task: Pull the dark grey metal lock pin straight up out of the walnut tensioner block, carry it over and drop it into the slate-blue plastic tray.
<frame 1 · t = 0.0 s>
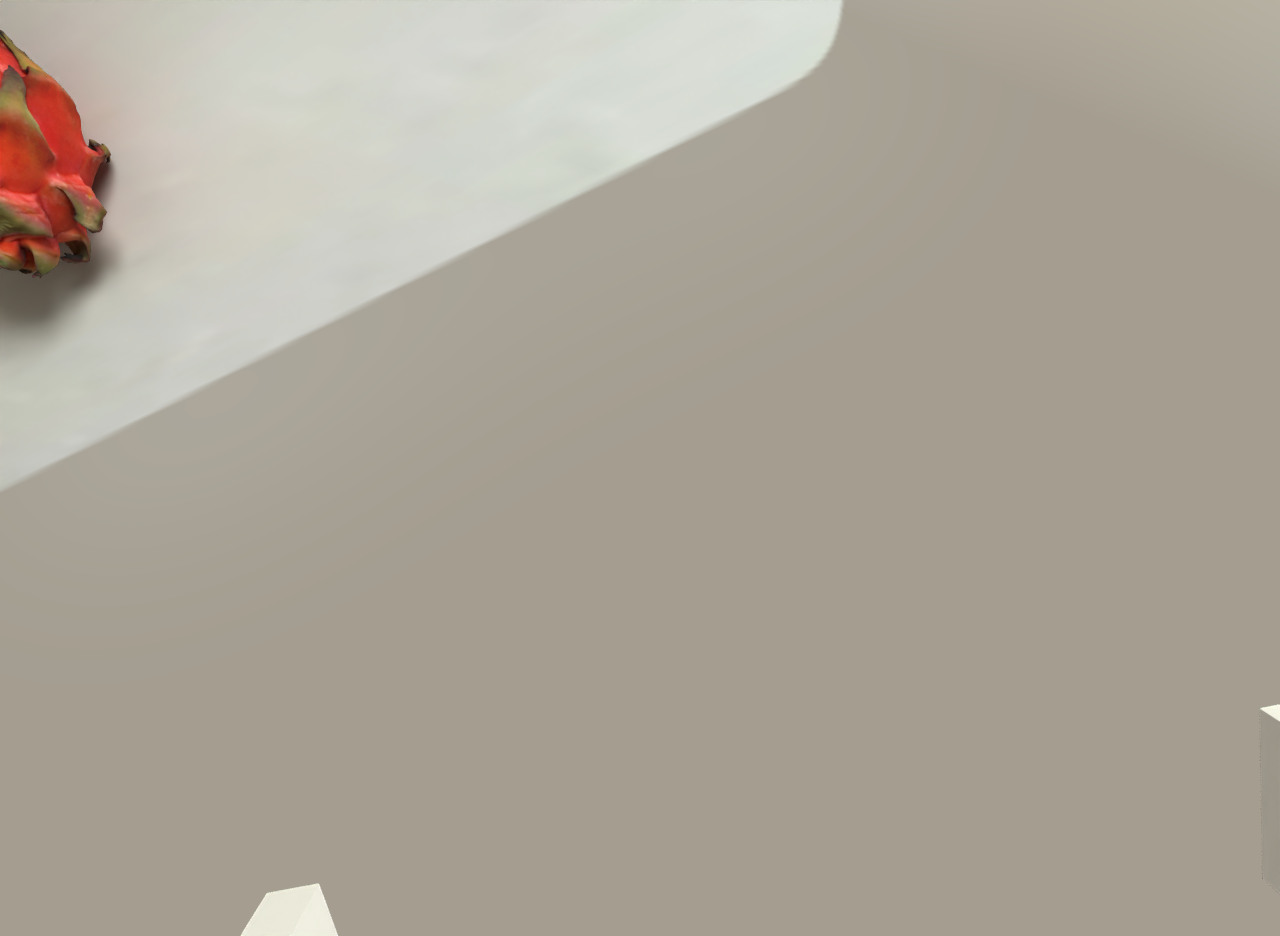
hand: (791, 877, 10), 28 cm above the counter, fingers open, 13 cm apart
dragon fruit: (45, 157, 34), on the counter
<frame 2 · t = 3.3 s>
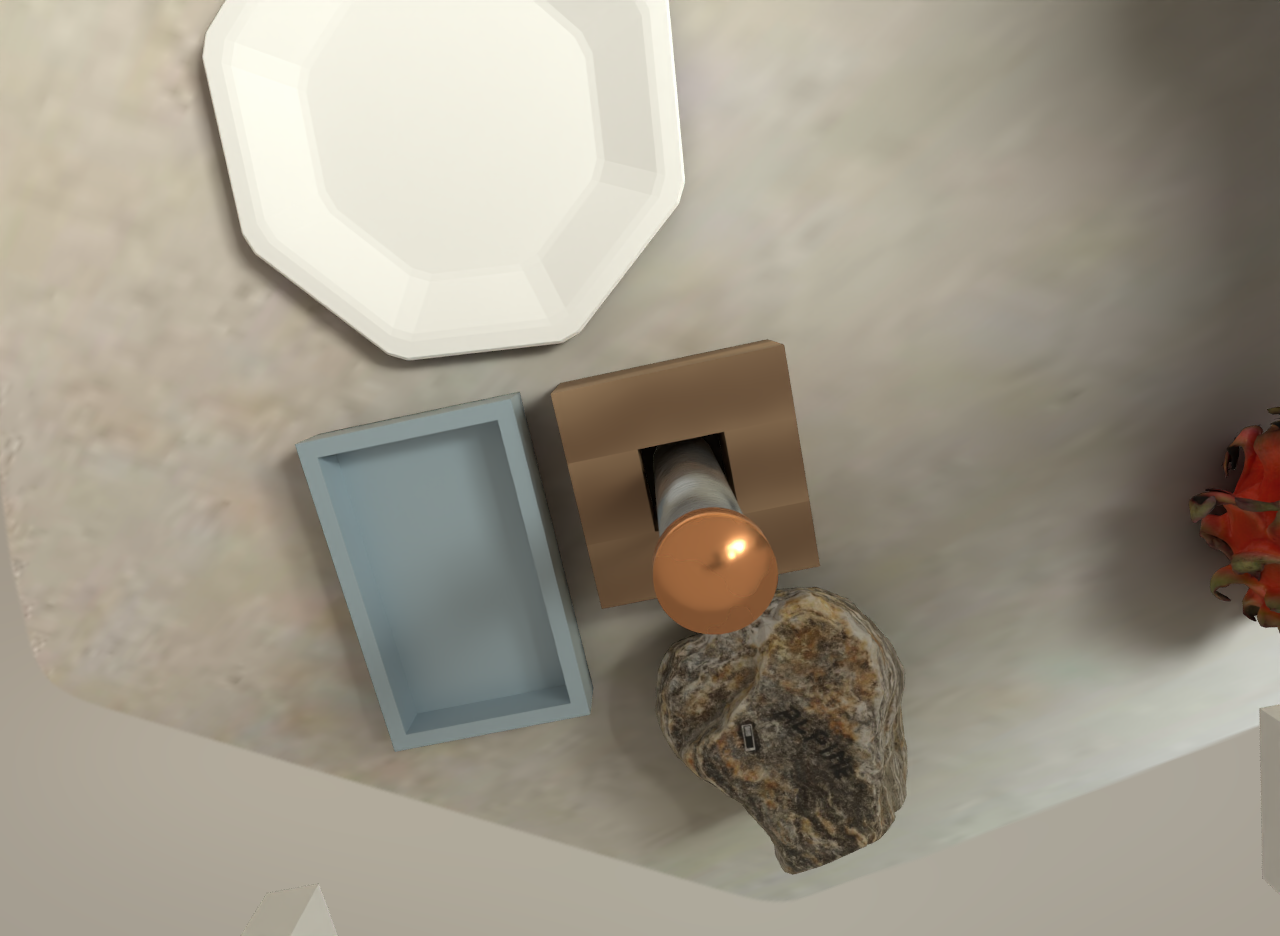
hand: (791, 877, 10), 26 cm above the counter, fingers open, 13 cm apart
plate: (456, 129, 33), on the counter
stone: (774, 677, 39), on the counter
dragon fruit: (1243, 505, 36), on the counter
tray: (461, 566, 37), on the counter
lock pin: (695, 504, 28), in the tensioner block
tensioner block: (683, 462, 35), on the counter
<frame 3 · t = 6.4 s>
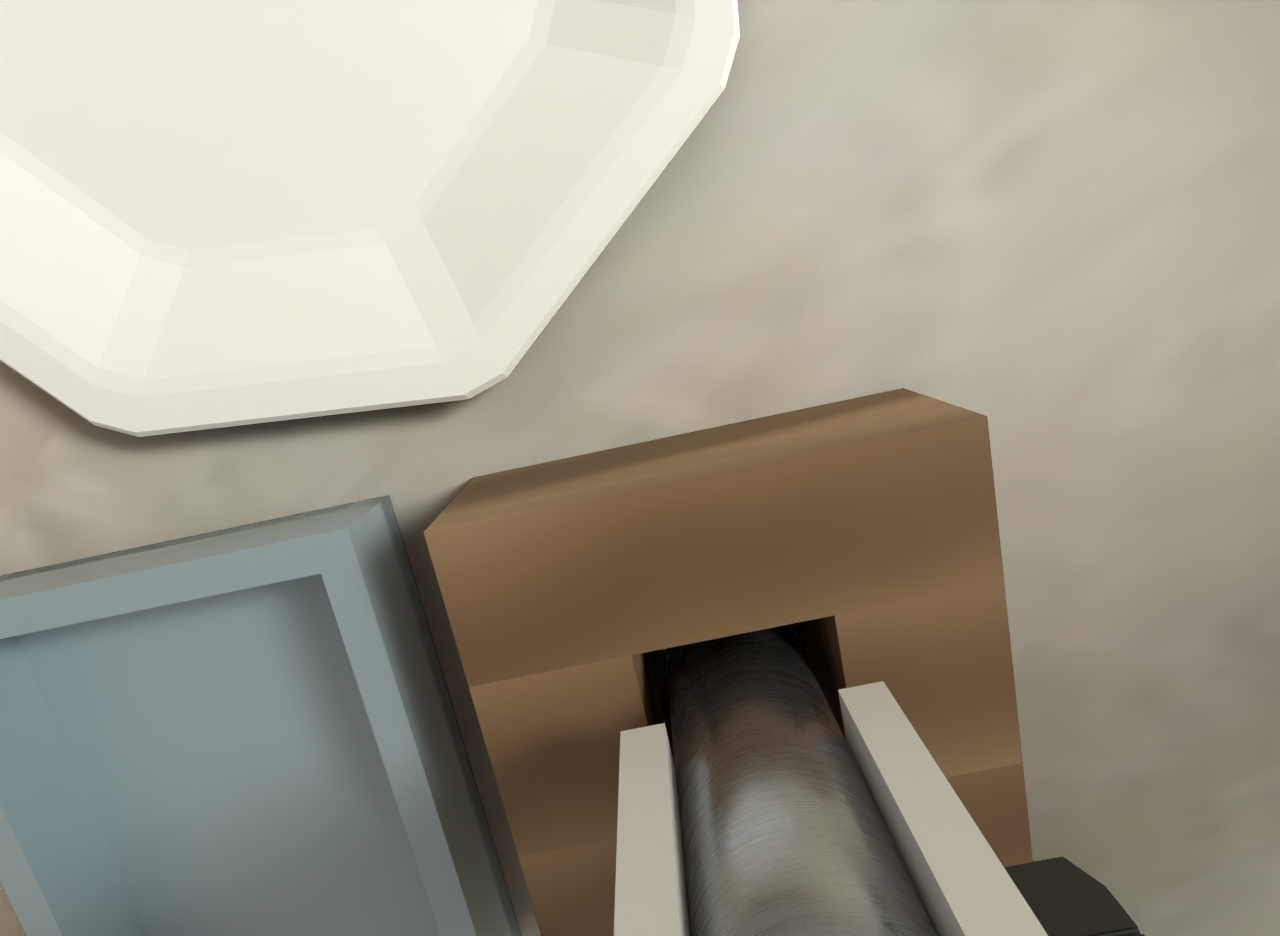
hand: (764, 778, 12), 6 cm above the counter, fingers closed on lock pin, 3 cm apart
tray: (290, 825, 19), on the counter
lock pin: (788, 866, 10), in the tensioner block, touching gripper
tensioner block: (724, 631, 18), on the counter
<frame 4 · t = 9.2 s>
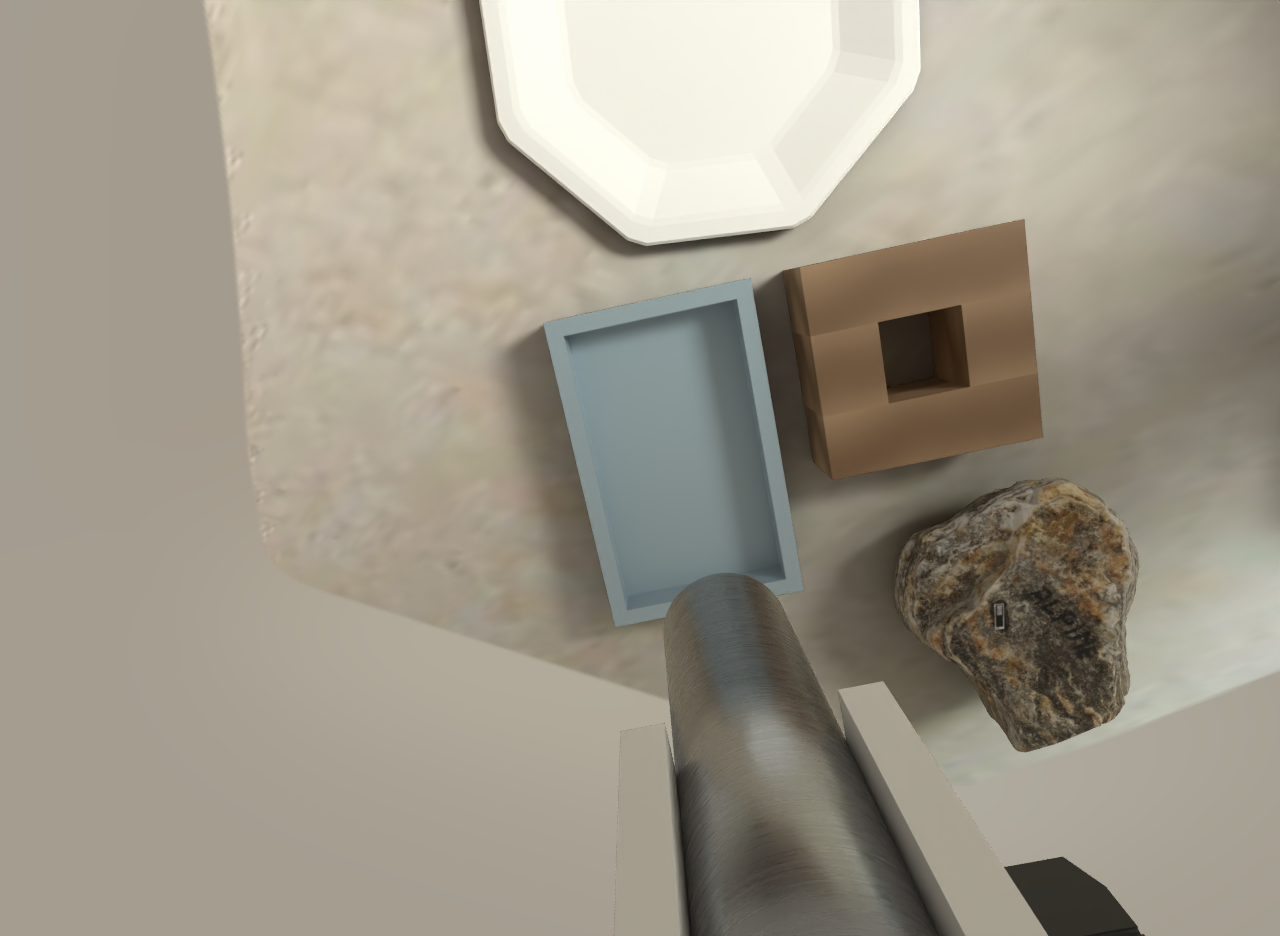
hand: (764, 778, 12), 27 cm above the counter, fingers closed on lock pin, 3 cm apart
plate: (697, 23, 34), on the counter
stone: (986, 578, 40), on the counter
tray: (676, 452, 38), on the counter
lock pin: (788, 864, 10), point 29 cm above the counter, touching gripper
tensioner block: (894, 348, 37), on the counter
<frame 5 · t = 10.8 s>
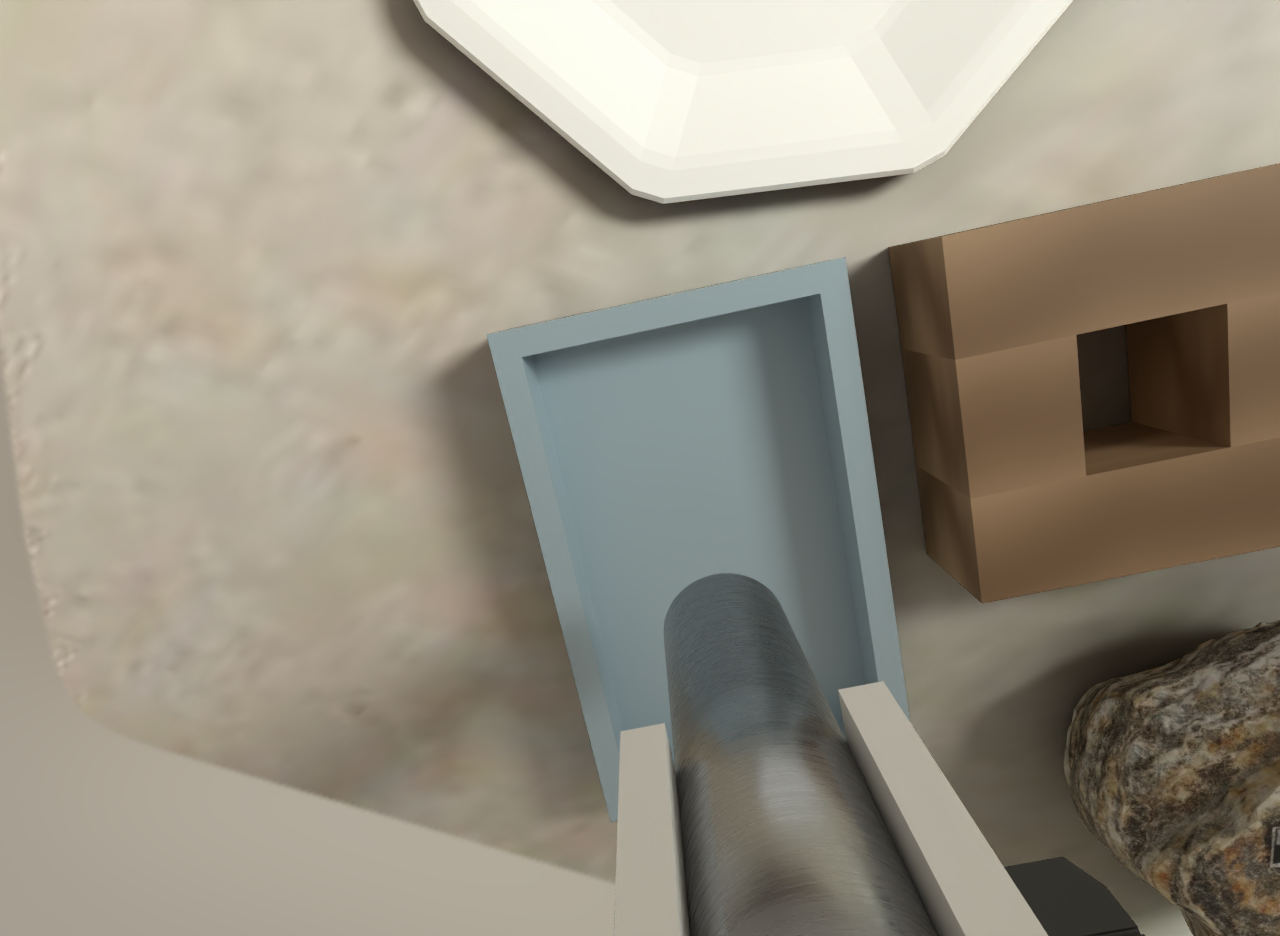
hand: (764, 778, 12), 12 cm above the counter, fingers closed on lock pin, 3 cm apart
stone: (1195, 735, 26), on the counter
tray: (709, 539, 24), on the counter
lock pin: (788, 865, 10), point 14 cm above the counter, touching gripper
tensioner block: (1067, 375, 23), on the counter
when the fingers open (8 cm above the counter, at t = 12.0 s): lock pin drops 1 cm, resting on tray.
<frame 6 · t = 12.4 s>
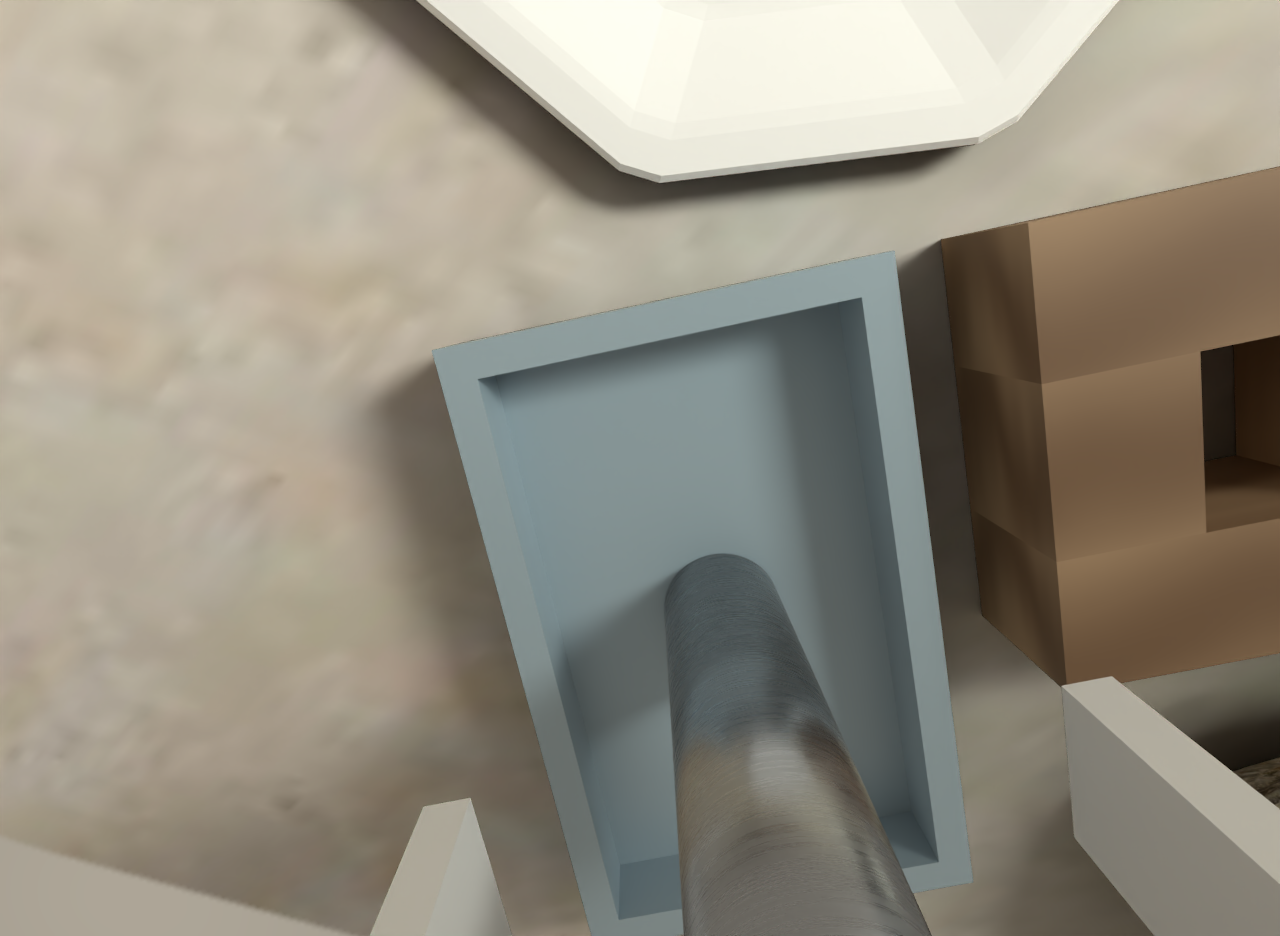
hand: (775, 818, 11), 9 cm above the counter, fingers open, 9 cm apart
tray: (716, 598, 20), on the counter
lock pin: (768, 801, 12), in the tray, point 8 cm above the counter
tensioner block: (1158, 398, 18), on the counter
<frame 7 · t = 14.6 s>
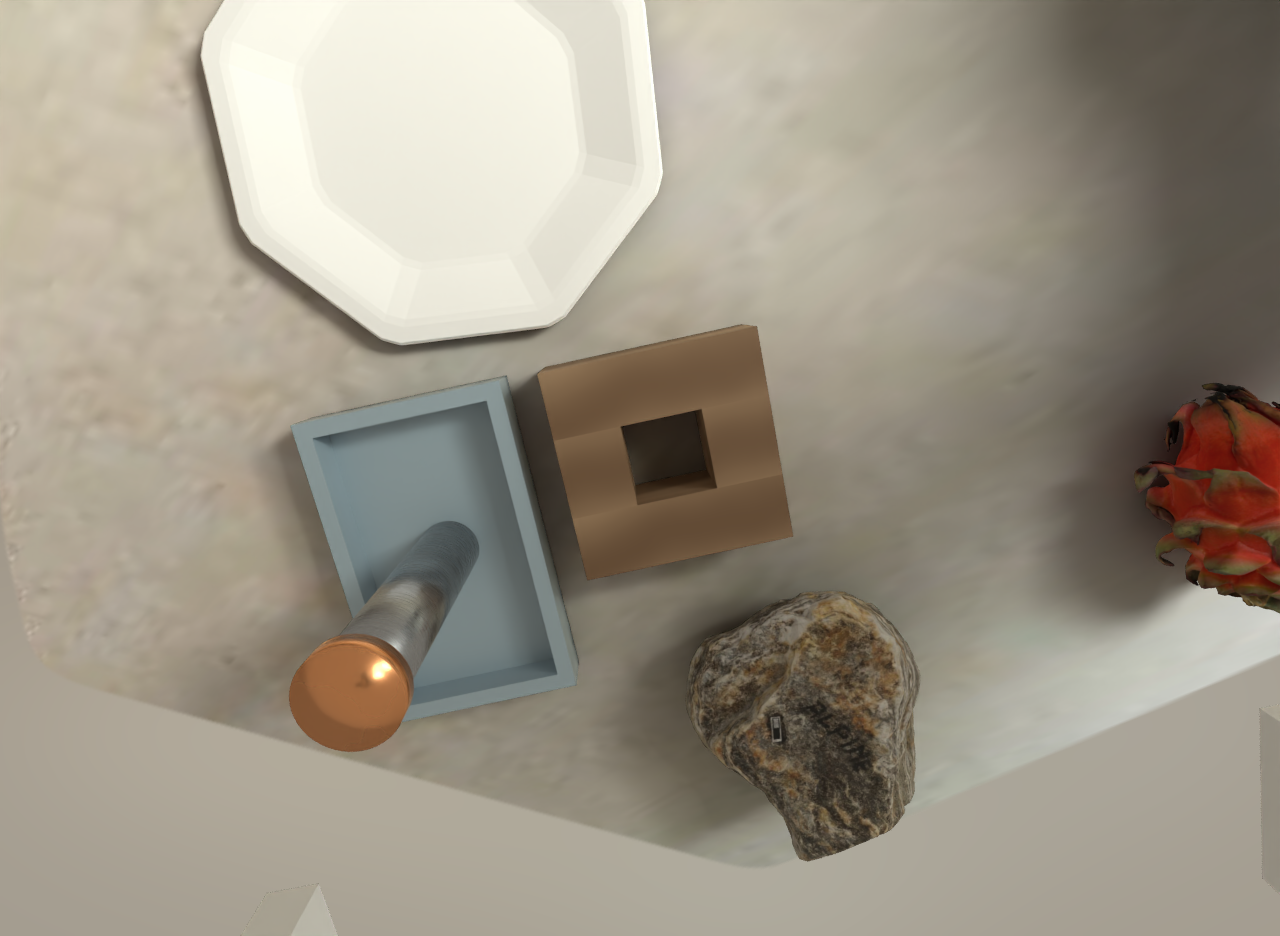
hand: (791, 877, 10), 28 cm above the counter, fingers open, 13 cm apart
plate: (445, 124, 34), on the counter
stone: (792, 677, 41), on the counter
dragon fruit: (1185, 478, 39), on the counter
tray: (451, 545, 38), on the counter
lock pin: (411, 606, 30), in the tray, point 8 cm above the counter
tensioner block: (663, 442, 37), on the counter
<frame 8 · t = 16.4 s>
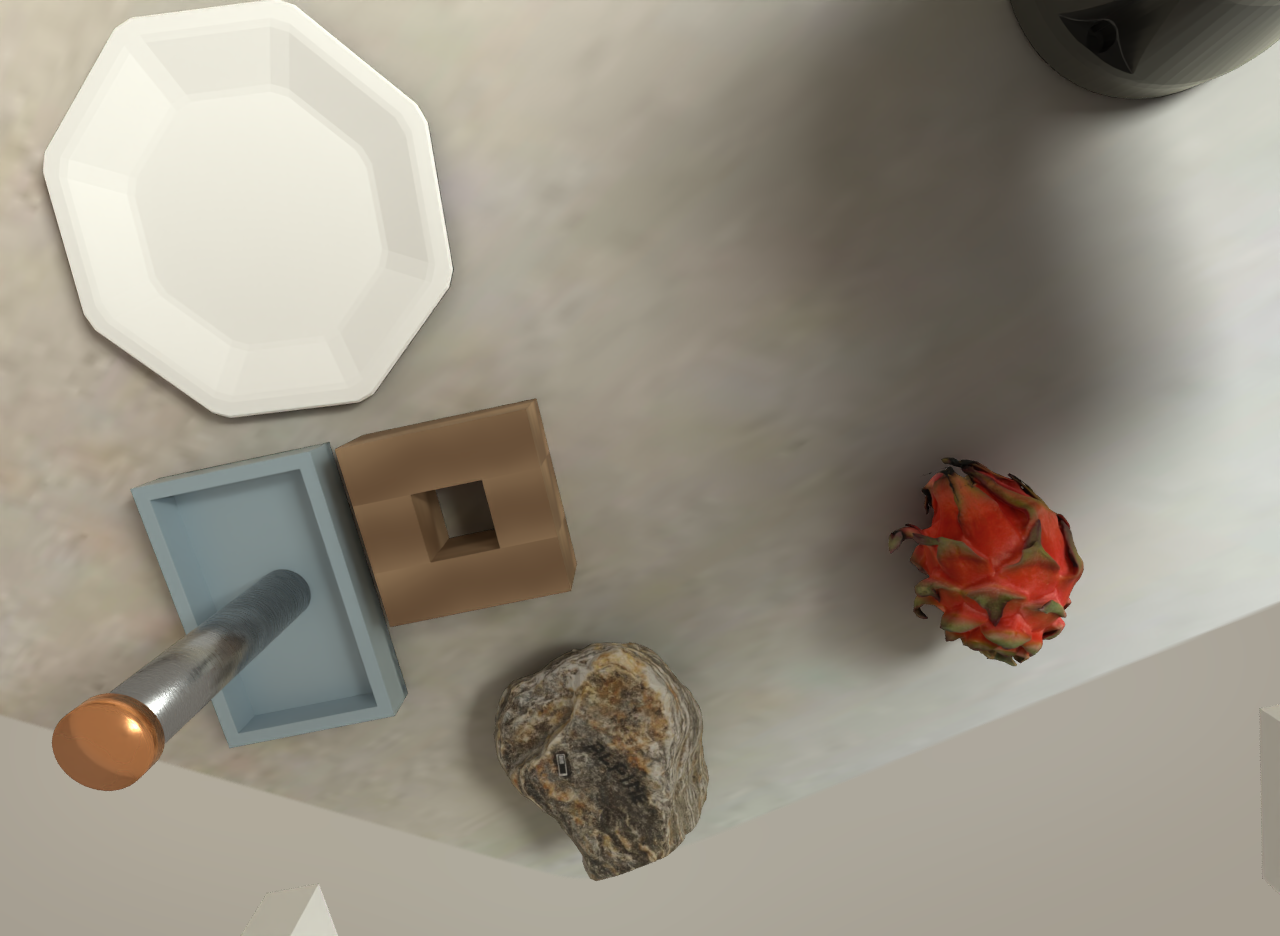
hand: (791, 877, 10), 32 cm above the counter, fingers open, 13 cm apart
plate: (266, 224, 39), on the counter
stone: (607, 712, 45), on the counter
dragon fruit: (954, 535, 43), on the counter
tray: (288, 589, 43), on the counter
lock pin: (211, 655, 35), in the tray, point 8 cm above the counter
tensioner block: (472, 501, 42), on the counter
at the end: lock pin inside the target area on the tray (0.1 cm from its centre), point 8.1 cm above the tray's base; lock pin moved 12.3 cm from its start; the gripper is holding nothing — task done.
